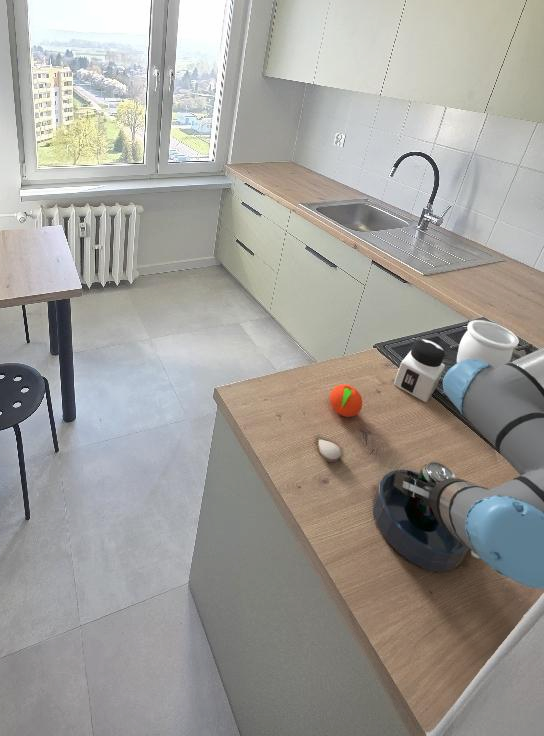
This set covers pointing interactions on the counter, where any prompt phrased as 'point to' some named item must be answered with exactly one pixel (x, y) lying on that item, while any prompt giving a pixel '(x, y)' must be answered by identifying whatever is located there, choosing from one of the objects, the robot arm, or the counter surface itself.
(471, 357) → the jar
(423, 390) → the container
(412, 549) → the bowl
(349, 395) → the clementine
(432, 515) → the soda can
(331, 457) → the garlic clove
